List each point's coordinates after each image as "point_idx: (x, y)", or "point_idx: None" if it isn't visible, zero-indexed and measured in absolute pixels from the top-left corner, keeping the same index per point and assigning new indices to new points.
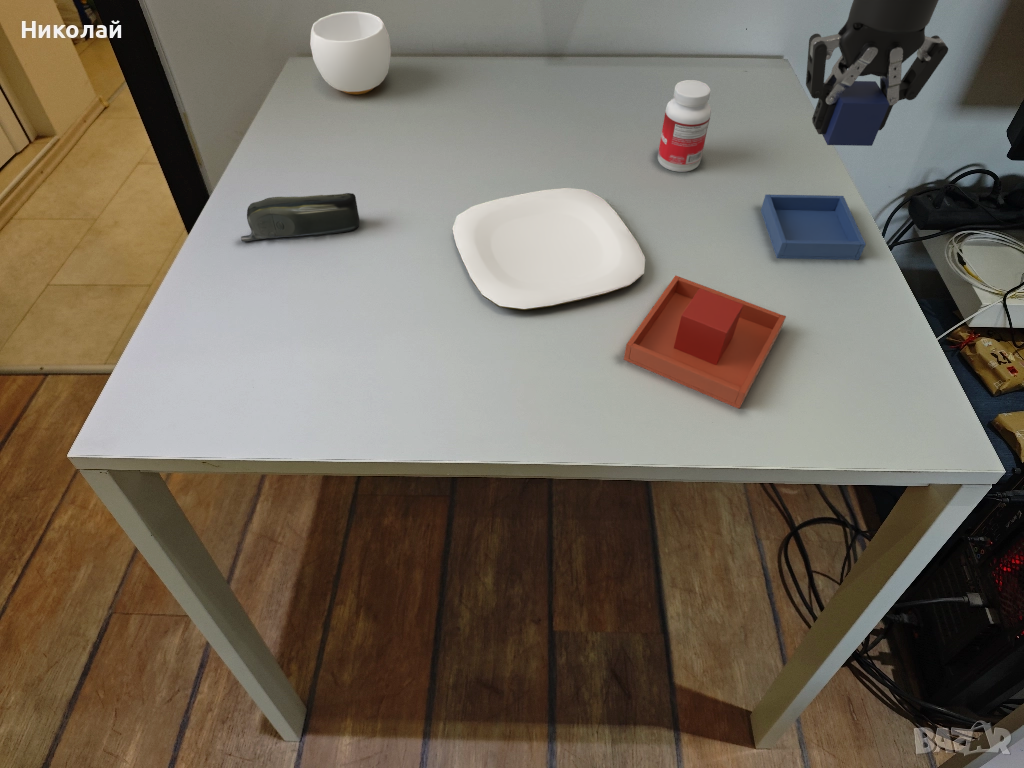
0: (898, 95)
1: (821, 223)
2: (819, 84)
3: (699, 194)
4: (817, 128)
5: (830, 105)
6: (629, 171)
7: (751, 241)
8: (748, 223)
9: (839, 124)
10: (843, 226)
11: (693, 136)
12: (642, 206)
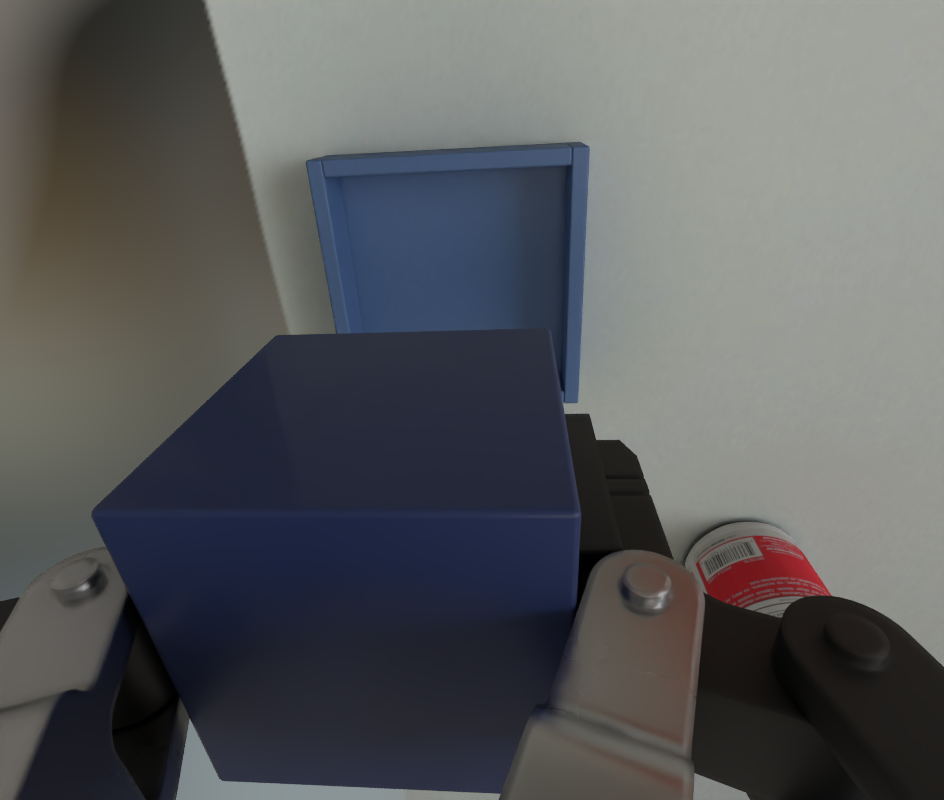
0: (12, 619)
1: (415, 318)
2: (926, 752)
3: (726, 437)
4: (609, 442)
5: (620, 545)
6: (889, 522)
7: (637, 230)
8: (622, 318)
9: (524, 392)
10: (357, 299)
11: (782, 603)
12: (921, 380)
